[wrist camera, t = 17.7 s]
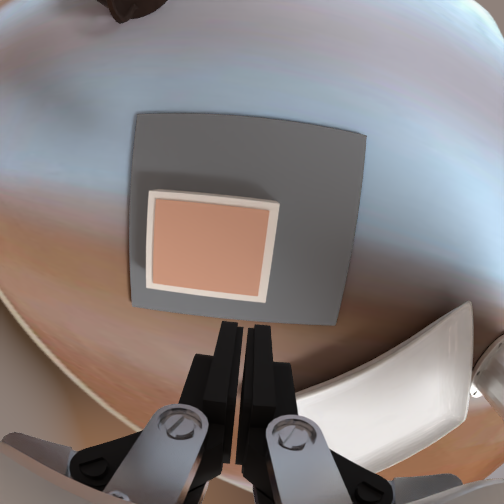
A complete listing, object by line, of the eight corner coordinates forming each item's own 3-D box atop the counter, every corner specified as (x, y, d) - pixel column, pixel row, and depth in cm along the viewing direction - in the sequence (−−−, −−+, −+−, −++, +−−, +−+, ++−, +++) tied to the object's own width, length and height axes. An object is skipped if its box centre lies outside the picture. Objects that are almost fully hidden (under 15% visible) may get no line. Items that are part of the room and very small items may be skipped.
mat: (364, 136, 22) (366, 135, 21) (333, 322, 27) (335, 325, 26) (139, 115, 21) (137, 114, 21) (134, 303, 26) (132, 306, 26)
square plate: (458, 408, 33) (467, 421, 29) (320, 476, 36) (323, 493, 32) (457, 288, 27) (476, 301, 23) (251, 391, 30) (252, 415, 26)
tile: (280, 204, 20) (148, 190, 20) (265, 303, 22) (145, 288, 22) (276, 200, 23) (158, 189, 23) (264, 290, 25) (155, 277, 25)
